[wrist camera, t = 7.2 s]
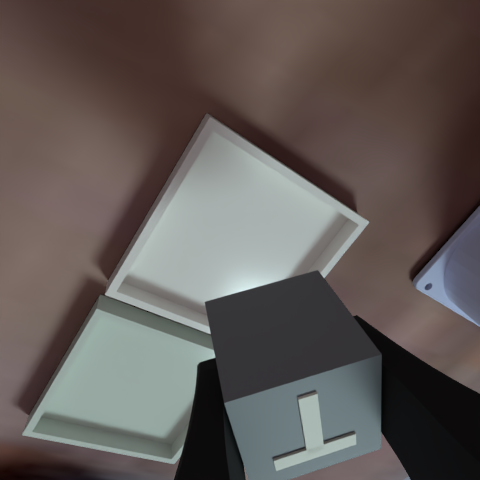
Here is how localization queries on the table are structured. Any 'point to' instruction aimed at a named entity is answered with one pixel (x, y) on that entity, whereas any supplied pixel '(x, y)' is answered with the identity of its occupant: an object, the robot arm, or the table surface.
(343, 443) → the letter cube
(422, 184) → the table surface
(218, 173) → the tray
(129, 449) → the tray
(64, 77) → the table surface
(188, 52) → the table surface
